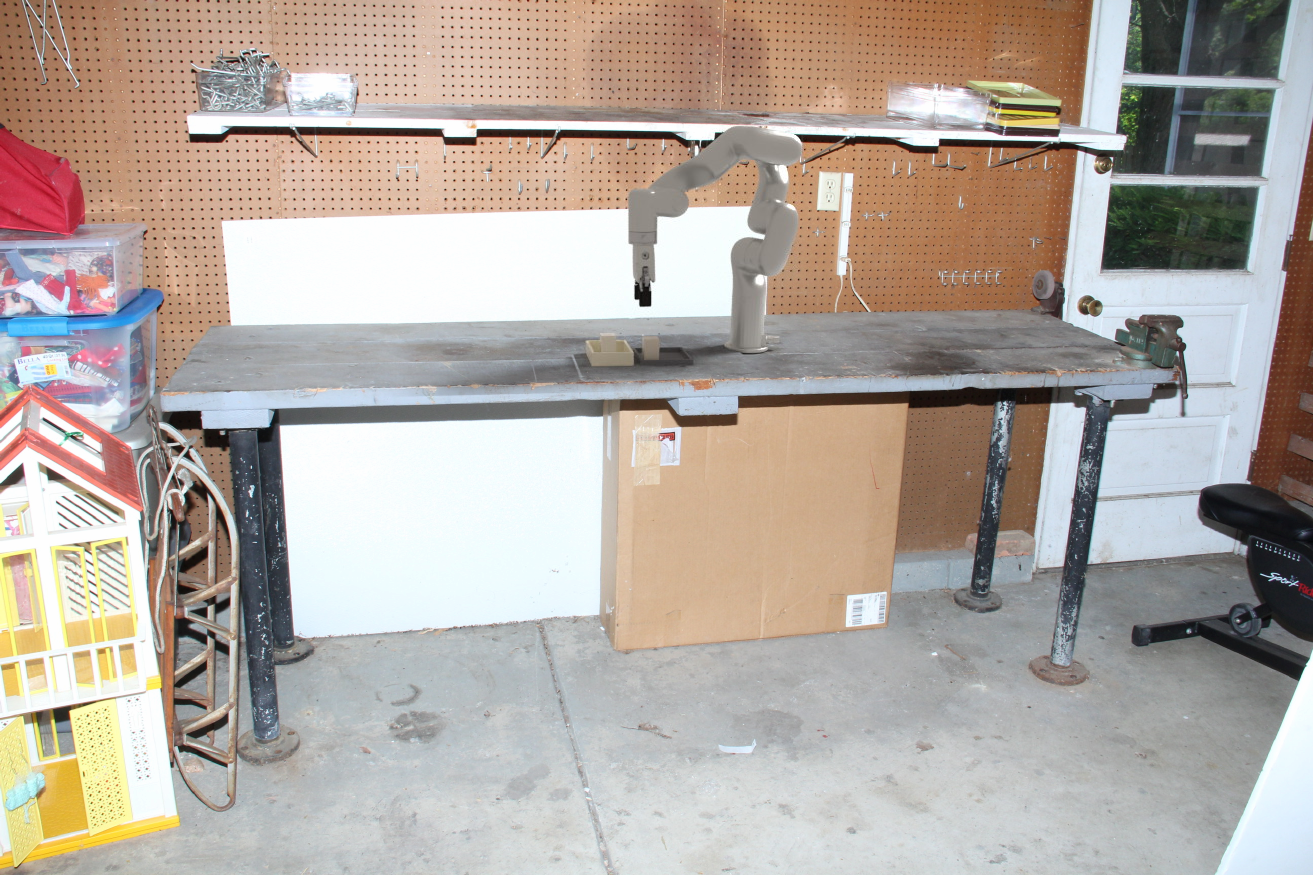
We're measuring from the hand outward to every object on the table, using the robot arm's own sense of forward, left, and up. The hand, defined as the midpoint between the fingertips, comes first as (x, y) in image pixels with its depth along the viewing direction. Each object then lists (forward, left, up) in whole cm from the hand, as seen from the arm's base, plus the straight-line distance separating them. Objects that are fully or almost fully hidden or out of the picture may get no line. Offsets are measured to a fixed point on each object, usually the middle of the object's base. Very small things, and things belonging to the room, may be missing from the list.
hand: (642, 303), depth 260 cm
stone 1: (+9, -4, -15) cm, 18 cm away
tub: (+9, 0, -16) cm, 18 cm away
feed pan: (-6, 0, -16) cm, 17 cm away
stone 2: (-2, +1, -15) cm, 15 cm away
